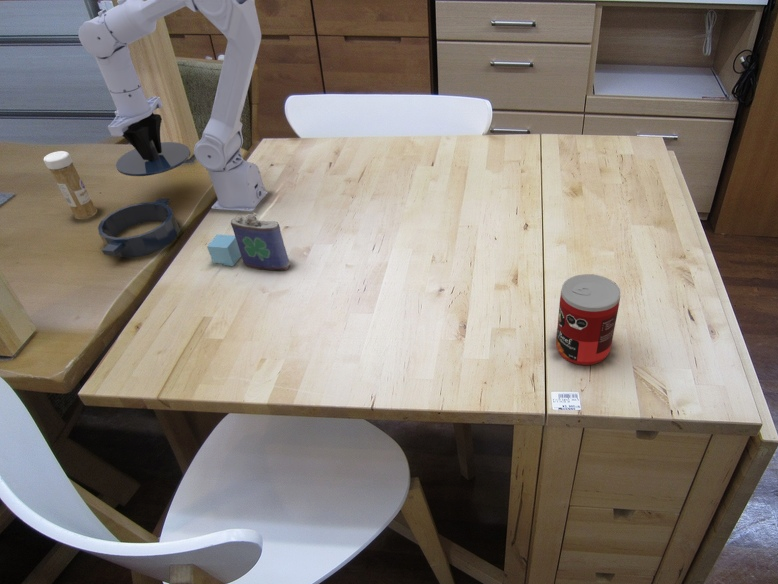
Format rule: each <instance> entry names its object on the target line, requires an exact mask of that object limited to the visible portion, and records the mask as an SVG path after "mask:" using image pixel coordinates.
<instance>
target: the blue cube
mask: <svg viewBox="0 0 778 584" xmlns="http://www.w3.org/2000/svg"><path fill="white" fill-rule="evenodd" d="M206 248H207V251H208V254H209V255H210V259H211V261H212V263H213V264H214V263H215V264H221V266H229V267H234V266H235V265H236V263H237V262H238V261H239V260H240V258H242V256H241V253H240V250H239V247H238V243H237V240H236V237H235V235H232V234H216V235H215V236H214V237H213V239H212V240H211V241H210V242H209V243H208V244H207V245H206Z"/></svg>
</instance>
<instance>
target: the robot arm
mask: <svg viewBox="0 0 778 584" xmlns="http://www.w3.org/2000/svg"><path fill="white" fill-rule="evenodd" d="M255 1H256V0H145V1H144V0H117V1H116V2H117V5H115V6H113V7H112V8H110V9H108V10H107V9H105V8H103V9H102V10H100V11H98V12H97V14H98V15H97V16H96V17H94V18H92V19H90V20H85V21H84V22H83V23H82V25H80V27H79V28H78V34H77V35H78V39H79V42H80V44H81V45H82V47H83V48H84V50H86V52H87V53H89V54H90V55H92V56H93V57H94V59H95V62H96V64H97V66H98V69H99V71H100V73H101V76H102V78H103V80H104V82H105V85H106V87H107V90H108V92H109V94H110V96H111V99H112V102H113V103H114V106H115V108H116V110H115V111H114V115H115V117H114V118H113V120H112V122H111V123H110V124H109V125H107V129H108V131H109V133H110V135H111V137H123V138H124V139H126V140H127V141H128V142H129V143H130V144H131V146H132V147H133V148H134V149H136V150H137V152H138V153H139V154H140V156H141V157H142V158H143V160H153V159H154V156H153V152H152V149H151V146H150V142H149V138H152V139H153V141H154V144H155V146H156V149H157V151H158V153H161V152H162V148H161V143H162V141H161V127H162V126H161V125H162V120H163V119H162V116H161V114H158V113H154V111H156V110H157V109H162V108H163V107H164V105H163V102H162V100H161V97H160V96H150V97H148V98H147V96H146V93H145V91H144V88H143V86H142V83H141V81H140V78H139V75H138V73H137V71H136V68H135V65H134V63H133V60H132V58H131V55H130V54H131V51H130V48H129V45H131V44H133V43H135V42H137V41H139V40H141V39H143V38H145V37H146V36H149V35H151V34H152V33H154V32H155V31H156V30H157V21H158V20H159V19H161V18H164V17H166V16H168V15H171V14H173V13H175V12H176V11H179V10H180V9H181V10H182V9H183V8H186V7H187V8H188V9H189V10H191V11H192V12H194V13H197V12H198V11H199V12H200V13H201V14H202V15H203V16H204V17H205V18H206V19H207V20H208V21H209V22H210V23H211V24H212V25H213V26H214V27H215V28H216V29H217V30H218V31H219V32H220V33H221V34H223V36H224V37H225V39H226V40H227V42H226V47H225V52H224V55H223V56H224V57H223V60H222V65H221V68H220V69H221V70H220V74H219V78H218V83H217V86H216V87H217V88H216V92H215V97H214V100H213V105H212V109H211V113H210V118H209V120H208V122H207V124H206V126H205V128H204V129H203V132H202V136H201V137H200V139H199V140H198V141H197V142H196V143H195V145H194V146H193V147H194V148H193V154H194V157H195V159H196V161H197V162H198V163H199V164H200V165H201V166H202V167H203V168H205V169H206V171H207V172H208V176H209V179H210V180H211V184H212V187H213V190H214V193H215V196H216V198H217V200H216V202H214V204H213V205H212V206H210V207H211V209H214V210H215V209H216V210H230V211H244V212H245V211H247V212H254V210H255V209H256V208H257V206H258V205H259V204H260V203H261V202H262V200H263V199H264V198H265V197H266V196H267V194H268V193H269V192H268V191H266V189H265V185H264V181H263V177H262V174H261V171H260V168H259V166H258V165H257V164H256V163H254V162H249V161H247V160H245V158H243V154H242V151H241V148H242V147H243V143H244V137H243V134H242V133H243V132H242V129H243V123H242V122H241V117H242V115H243V110H244V107H245V103H246V99H247V95H248V91H249V88H250V84H251V80H252V77H253V72H254V69H255V66H256V65H255V64H256V62H257V61H256V60H257V56H258V53H259V49H260V46H261V41H262V30H261V26H260V21H259V15H258V11H257V7H256V3H255Z"/></svg>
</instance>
